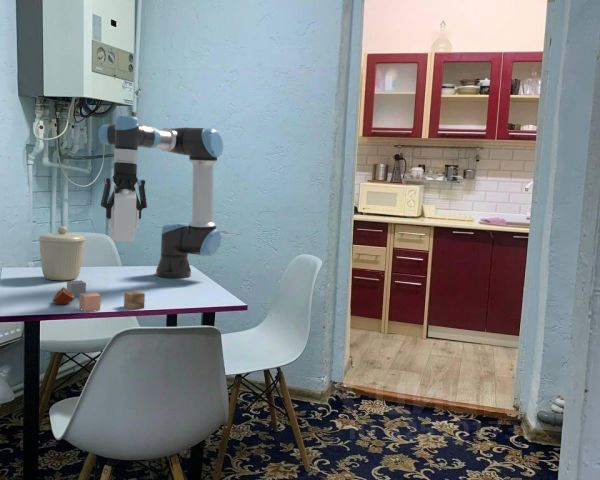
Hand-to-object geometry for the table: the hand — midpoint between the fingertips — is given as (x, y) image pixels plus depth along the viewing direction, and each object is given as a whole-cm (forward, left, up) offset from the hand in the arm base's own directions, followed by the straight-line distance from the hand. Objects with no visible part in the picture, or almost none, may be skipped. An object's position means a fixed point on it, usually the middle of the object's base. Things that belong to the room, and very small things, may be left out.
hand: (123, 228), depth 197 cm
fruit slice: (+19, -1, -25) cm, 32 cm away
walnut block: (0, +12, -25) cm, 28 cm away
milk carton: (0, 0, -4) cm, 4 cm away
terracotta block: (+14, +10, -25) cm, 31 cm away
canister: (+8, -44, -25) cm, 51 cm away
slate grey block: (+12, -11, -25) cm, 30 cm away
